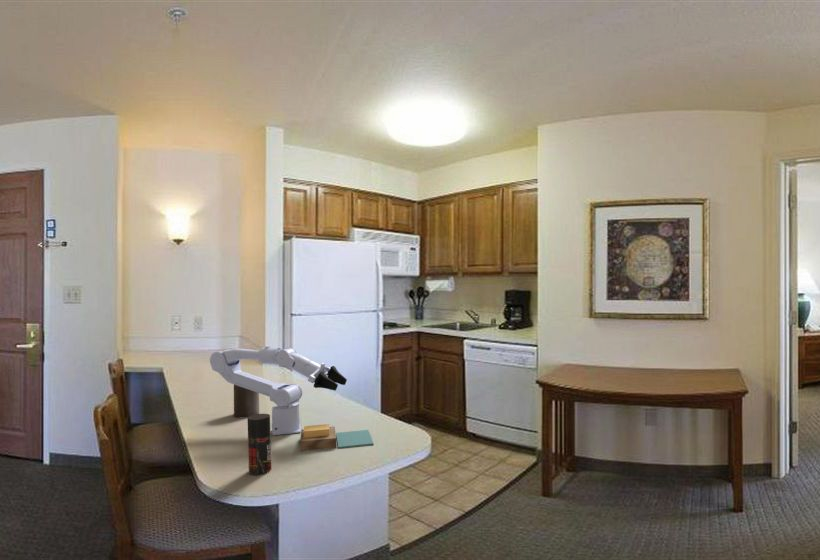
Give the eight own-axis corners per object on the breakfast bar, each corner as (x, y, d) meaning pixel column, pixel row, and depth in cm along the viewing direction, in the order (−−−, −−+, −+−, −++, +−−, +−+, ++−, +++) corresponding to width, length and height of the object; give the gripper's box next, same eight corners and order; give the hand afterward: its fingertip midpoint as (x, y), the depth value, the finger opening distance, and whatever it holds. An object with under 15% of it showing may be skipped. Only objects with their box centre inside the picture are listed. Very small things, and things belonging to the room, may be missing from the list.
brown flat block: (300, 451, 140) (300, 441, 140) (301, 438, 152) (301, 429, 152) (336, 447, 143) (336, 438, 143) (334, 435, 154) (334, 426, 154)
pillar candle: (239, 419, 177) (238, 380, 177) (230, 414, 184) (229, 377, 184) (263, 414, 183) (263, 377, 183) (253, 409, 191) (253, 373, 191)
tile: (303, 437, 144) (303, 431, 144) (304, 432, 149) (304, 426, 149) (329, 435, 145) (329, 429, 145) (328, 430, 151) (328, 423, 151)
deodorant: (252, 467, 129) (250, 414, 129) (273, 465, 130) (272, 413, 130) (246, 475, 123) (244, 420, 123) (268, 474, 124) (267, 419, 124)
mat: (338, 448, 142) (338, 446, 142) (336, 434, 155) (336, 432, 155) (373, 444, 144) (373, 443, 144) (368, 431, 158) (368, 429, 158)
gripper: (301, 361, 152) (336, 379, 149) (321, 354, 166) (353, 370, 163) (294, 380, 153) (329, 398, 149) (314, 371, 167) (346, 387, 163)
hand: (341, 384), depth 156 cm, fingers open, 7 cm apart
